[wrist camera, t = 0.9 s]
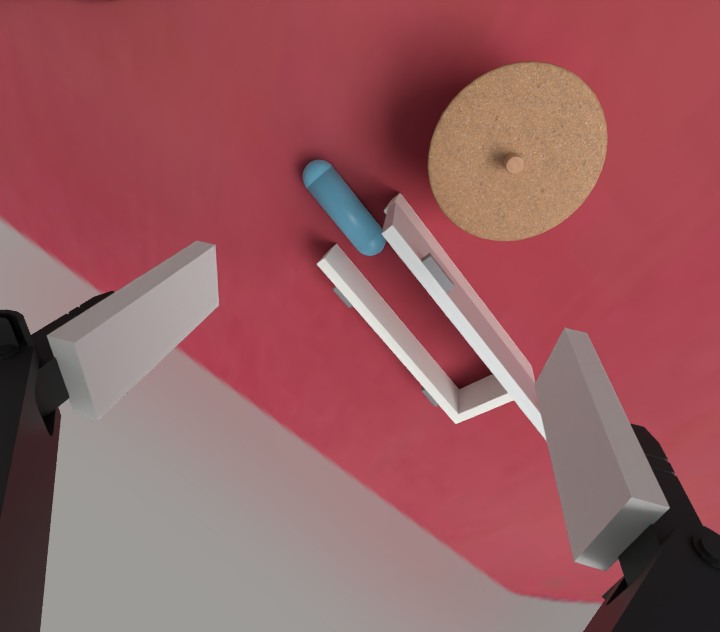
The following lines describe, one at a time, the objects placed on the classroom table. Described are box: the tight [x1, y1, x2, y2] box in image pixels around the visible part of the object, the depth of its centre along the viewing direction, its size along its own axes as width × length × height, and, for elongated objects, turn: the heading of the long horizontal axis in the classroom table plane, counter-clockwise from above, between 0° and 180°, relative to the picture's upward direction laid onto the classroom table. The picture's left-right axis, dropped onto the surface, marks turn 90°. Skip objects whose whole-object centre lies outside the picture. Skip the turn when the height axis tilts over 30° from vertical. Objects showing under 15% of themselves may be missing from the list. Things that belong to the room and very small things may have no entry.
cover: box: [382, 202, 547, 441], centre depth 30 cm, size 22×10×1 cm
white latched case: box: [317, 193, 535, 424], centre depth 39 cm, size 22×10×4 cm, turn 42°
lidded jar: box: [428, 61, 608, 241], centre depth 28 cm, size 11×11×9 cm
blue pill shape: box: [303, 159, 386, 256], centre depth 36 cm, size 10×3×3 cm, turn 42°
